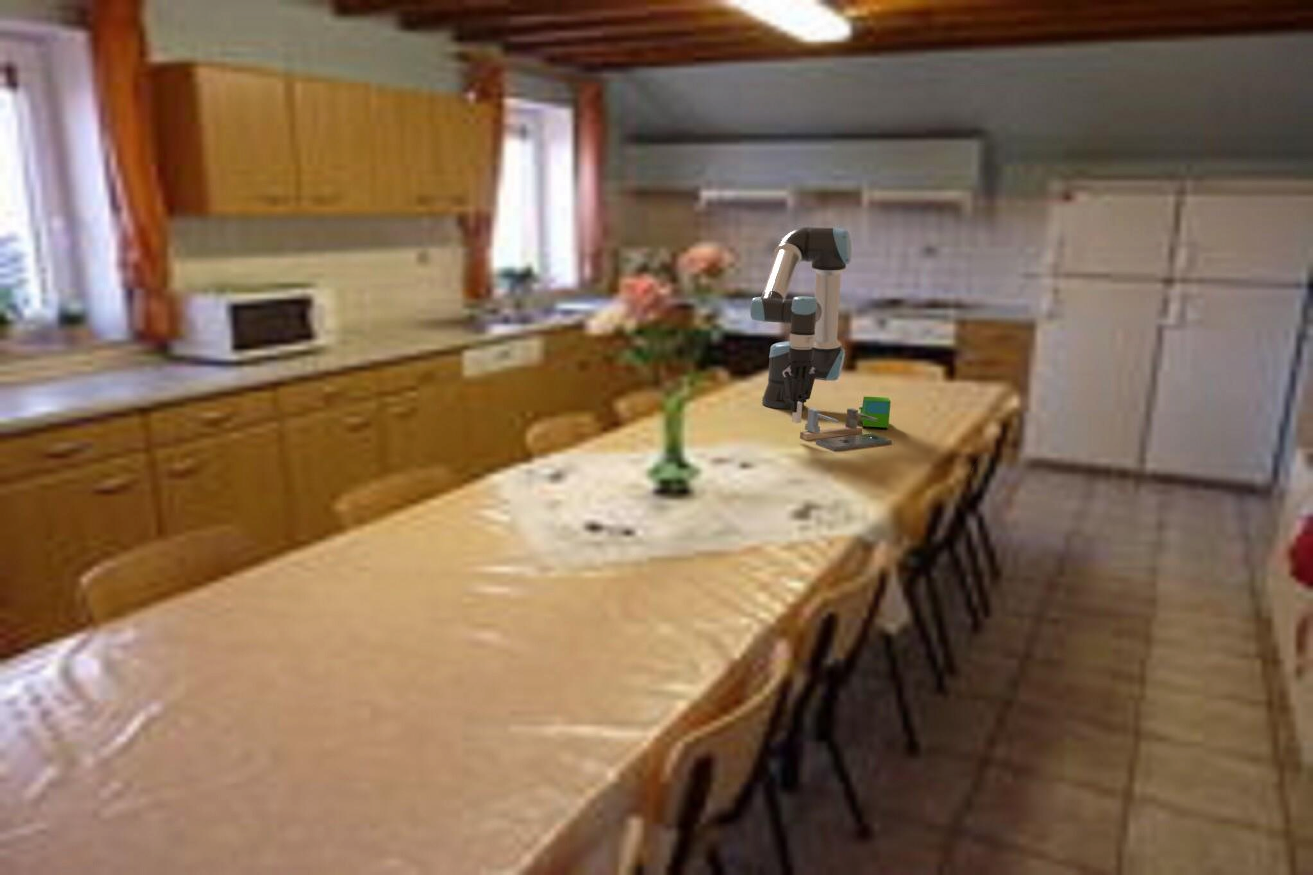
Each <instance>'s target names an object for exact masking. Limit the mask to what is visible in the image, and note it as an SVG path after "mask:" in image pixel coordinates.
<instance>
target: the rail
mask: <svg viewBox="0 0 1313 875" xmlns="http://www.w3.org/2000/svg"><path fill="white" fill-rule="evenodd" d="M858 417H859V418H860V417H863V418H866V419H869V420H872V421H877V420H878V419H877V418H873V417H870V416H867V415H864V414H861V413H860V412H859V410H858V409H856V408H852V407H851V408H847V409H846V419H845V420H846V421H845V426H840V427H832V428H823V429H821V428H820V433H813V432H810V431H807V430H804V431H800V432H799V433H800V434H799V438H800V439H801V440H804V441H811V440H821V439H829V438H838V437H846V436H854V435H860V434H859V433H861V434H863V426H859V425H858Z"/></svg>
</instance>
